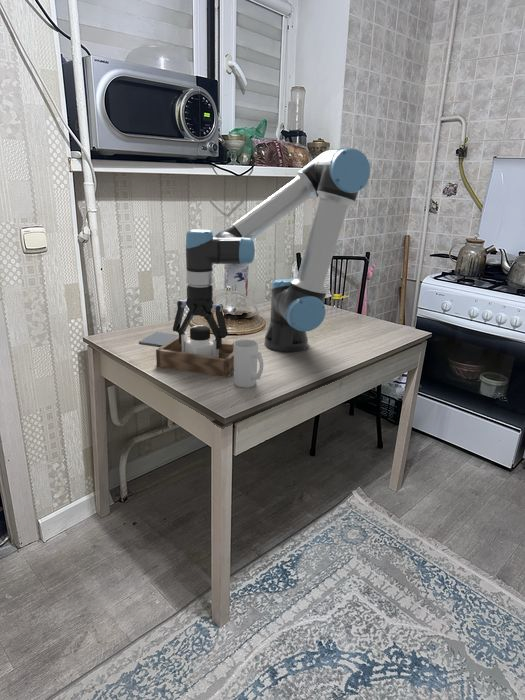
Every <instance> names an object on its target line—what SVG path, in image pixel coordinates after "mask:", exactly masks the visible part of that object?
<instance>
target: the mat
mask: <svg viewBox="0 0 525 700" xmlns="http://www.w3.org/2000/svg"><path fill="white" fill-rule="evenodd" d="M177 336H179V334H178V333H177V334H176V333H175V334H174V333H168V332H161V331H155V332H153V333H152V334H150V335H148V336H147V337H145V338H143V339H141V340H139V341H138V344H142V345H147V346H154V347H159V348H160V347H161V346H163V345H165V344H166V343H168V342H169V341H171V340H172V339H174V338H175V337H177ZM188 337H190V335H188Z"/></svg>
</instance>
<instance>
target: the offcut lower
mask: <svg viewBox="0 0 525 700" xmlns="http://www.w3.org/2000/svg"><path fill="white" fill-rule="evenodd" d="M230 354H231V353H219V357H218V358H222V359H226V358H227V357H228V356H229V355H230Z"/></svg>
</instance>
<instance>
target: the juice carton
mask: <svg viewBox="0 0 525 700" xmlns="http://www.w3.org/2000/svg"><path fill="white" fill-rule="evenodd" d="M223 271H224V274H223V276H224V281H223V282H224V285H223V286H224V289H225V288H226V287H227V286H230V287H231V290H232V291H238V292H240V293H242V294H244V295H246V296H247V297H248V295H249V294H248V293H249V291H248V290H249V264H242V265H241V264H224V270H223ZM224 289H223V290H224Z"/></svg>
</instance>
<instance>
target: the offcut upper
mask: <svg viewBox="0 0 525 700" xmlns="http://www.w3.org/2000/svg"><path fill="white" fill-rule="evenodd" d="M234 342H235V340H222V347H221V348H220V349H219V353H232V352H233V351H234Z"/></svg>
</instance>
